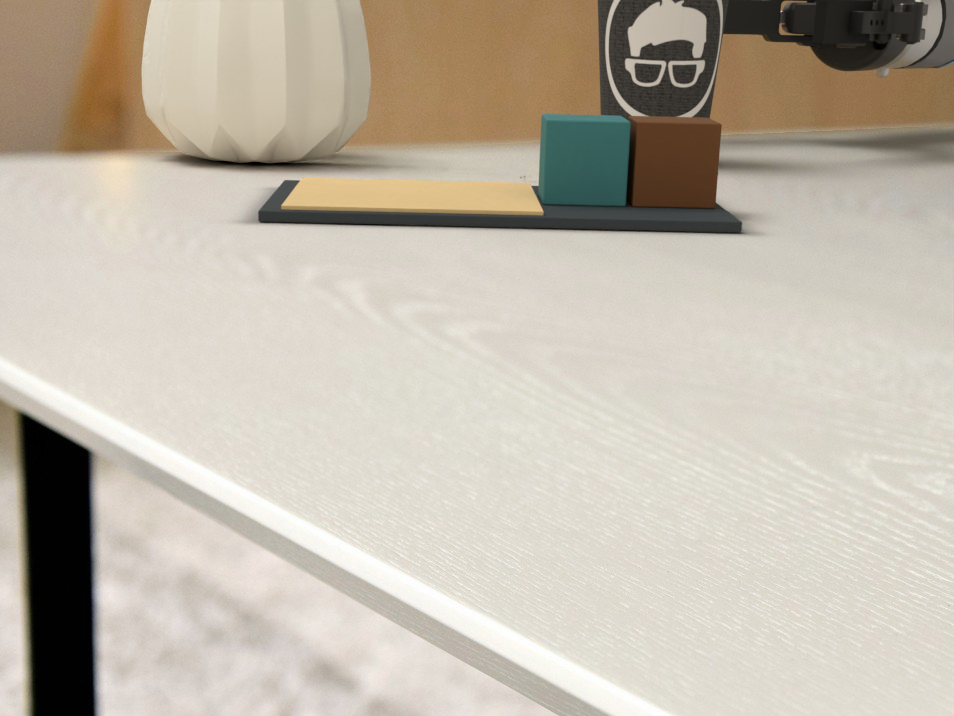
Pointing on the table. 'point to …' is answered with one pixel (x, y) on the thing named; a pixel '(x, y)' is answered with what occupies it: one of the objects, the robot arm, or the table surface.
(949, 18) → the robot arm
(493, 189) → the word mat
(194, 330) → the table surface
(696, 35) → the coffee cup
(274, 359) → the table surface
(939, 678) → the table surface
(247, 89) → the vase
